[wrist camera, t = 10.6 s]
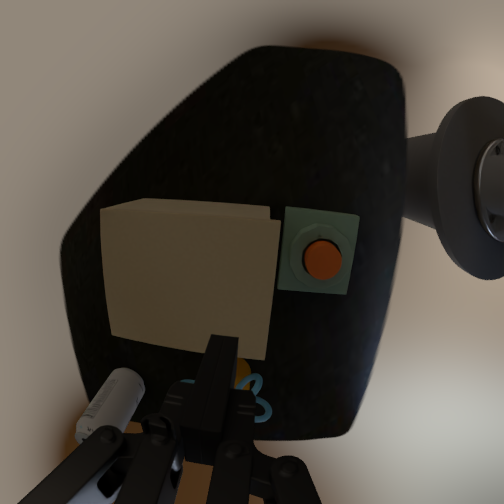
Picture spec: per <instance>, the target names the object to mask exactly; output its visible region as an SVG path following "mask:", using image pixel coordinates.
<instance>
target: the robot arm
mask: <svg viewBox="0 0 504 504" xmlns="http://www.w3.org/2000/svg"><path fill="white" fill-rule="evenodd" d="M472 195H473V203H474V208H475V212H476V215H477V218H478V221H479V223H480V225H481V227H482V228H483V230H484V231H485V232H486V233H487V234H488V235H489V236H490V237H492V238H494V239H496V240H498V241H501V242H504V138H501V139H492V140H490V141H488V142H487V143H486V144H485V145H484V146H483V147H482V148H481V150H480V152H479V154H478V156H477V159H476V162H475V166H474V170H473V178H472ZM238 341H239V337H232V336H223V335H215V334H211V336H210V339H209V341H208V344H207V347H206V350H205V353H204V356H203V359H202V361H201V364H200V367H199V370H198V373H197V376H196V379H195V382H194V384H193V383H187V382H182V381H176V382H175V383H174V384H173V385H172V386H170V388H169V390H168V393H167V396H166V397H165V400H164V402H163V404H162V406H161V409H160V411H159V413H153V414H148V415H147V416H145V417H143V419H142V420H141V421H140V422H141V426H142V429H143V432H142V433H137V434H133V433H132V434H131V433H122V431H121V430H120V429H119V428H117V427H115V426H112V425H104V426H100V427H99V428H97V429H96V430H95V431H94V432H93V433H92V434H91V435H90V436H88V437H87V438H86V439H85V440H84V441H83V442H82V443H81V444H80V445H79V446H78V447H77V448H76V449H75V450H74V451H73V452H72V453H71V454H70V455H69V456H68V457H67V458H66V459H65V460H64V461H62V462H61V463H60V464H59V465H58V466H57V467H56V468H55V469H54V470H53V471H52V472H51V473H50V474H49V475H48V476H47V477H46V478H44V479H43V480H42V481H41V482H40V483H39V484H38V485H37V486H36V487H35V488H34V489H33V490H32V491H30V492H29V493H28V494H27V495H26V496H25V497H24V498H23V499H22V500H21V501H20V502H19V503H17V504H112V503H113V502H114V501H115V503H114V504H174V502H175V498H176V495H177V491H178V487H179V484H180V480H181V476H182V473H183V466H182V463H183V459H184V457H185V460H186V461H189V462H194V463H199V464H205V465H211V466H213V471H212V476H211V482H210V486H209V491H208V496H207V502H206V504H248V502H249V494H251V495H254V496H257V497H260V498H263V501H264V504H322V503H321V500H320V498H319V496H318V493H317V491H316V489H315V486H314V484H313V481H312V479H311V476H310V474H309V471H308V469H307V466H306V465H305V463H304V462H303V461H302V460H301V459H299V458H298V457H294V456H282V457H278V458H277V459H276V458H273V457H270V456H267V455H264V454H262V453H261V452H260V451H258V450H257V449H256V447H255V445H254V443H253V436H254V422H255V408H256V397H255V395H254V393H253V391H252V390H242V389H234V385H235V379H236V370H237V356H238ZM115 499H116V500H115Z"/></svg>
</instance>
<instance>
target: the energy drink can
mask: <svg viewBox="0 0 504 504" xmlns="http://www.w3.org/2000/svg"><path fill="white" fill-rule="evenodd" d="M144 392H145V387H144V382H143V380H142V378H141V377H140V376H139V375H138V374H137V373H136V372H135V371H133V370H131V369H128V368H120V369H115V370H114V371H113V372H112V373H111V375H110V376H109V377H108V379H107V380H106V382H105V383H104V385H103V386H102V387H101V389H100V390H99V392H98V393H97V394H96V396H95V397H94V399H93V400H92V402H91V403H90V405H89V406H88V407H87V409H86V411H85V412H84V413H83V415H82V416H81V418H80V419H79V421H78V422H77V424H76V434H75V438H76V440H77V442H78V443H79V444H81V443H82V442H83V441H84V440H85V439H86V438H87V437H88V436H90V435H91V434H92V433H93V432H94V431H95V430H96V429H97V428H99V427H100V426H104V425H112V426H115V427H117V428H119V429H120V430H121V431H122V433H124V430H125V428H126V427H127V425H128V423H129V421H130V419H131V417H132V415H133V413H134V411H135V409H136V407H137V406H138V404H139V402H140V400H141V398H142V396H143V394H144Z"/></svg>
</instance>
